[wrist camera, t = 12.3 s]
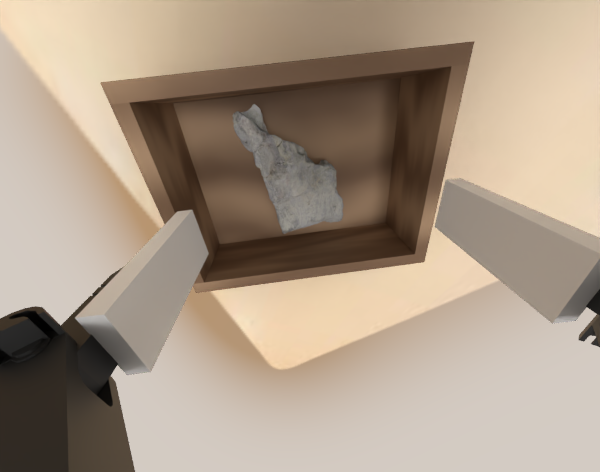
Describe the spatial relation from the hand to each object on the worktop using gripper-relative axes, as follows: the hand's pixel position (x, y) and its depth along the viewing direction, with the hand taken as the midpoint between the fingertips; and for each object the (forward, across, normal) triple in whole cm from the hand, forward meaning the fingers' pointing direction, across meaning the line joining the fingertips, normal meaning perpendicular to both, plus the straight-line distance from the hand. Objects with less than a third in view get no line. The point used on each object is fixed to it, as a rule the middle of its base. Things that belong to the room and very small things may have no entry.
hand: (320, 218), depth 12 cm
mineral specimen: (+10, -1, -1) cm, 10 cm away
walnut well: (+11, -1, 0) cm, 11 cm away
